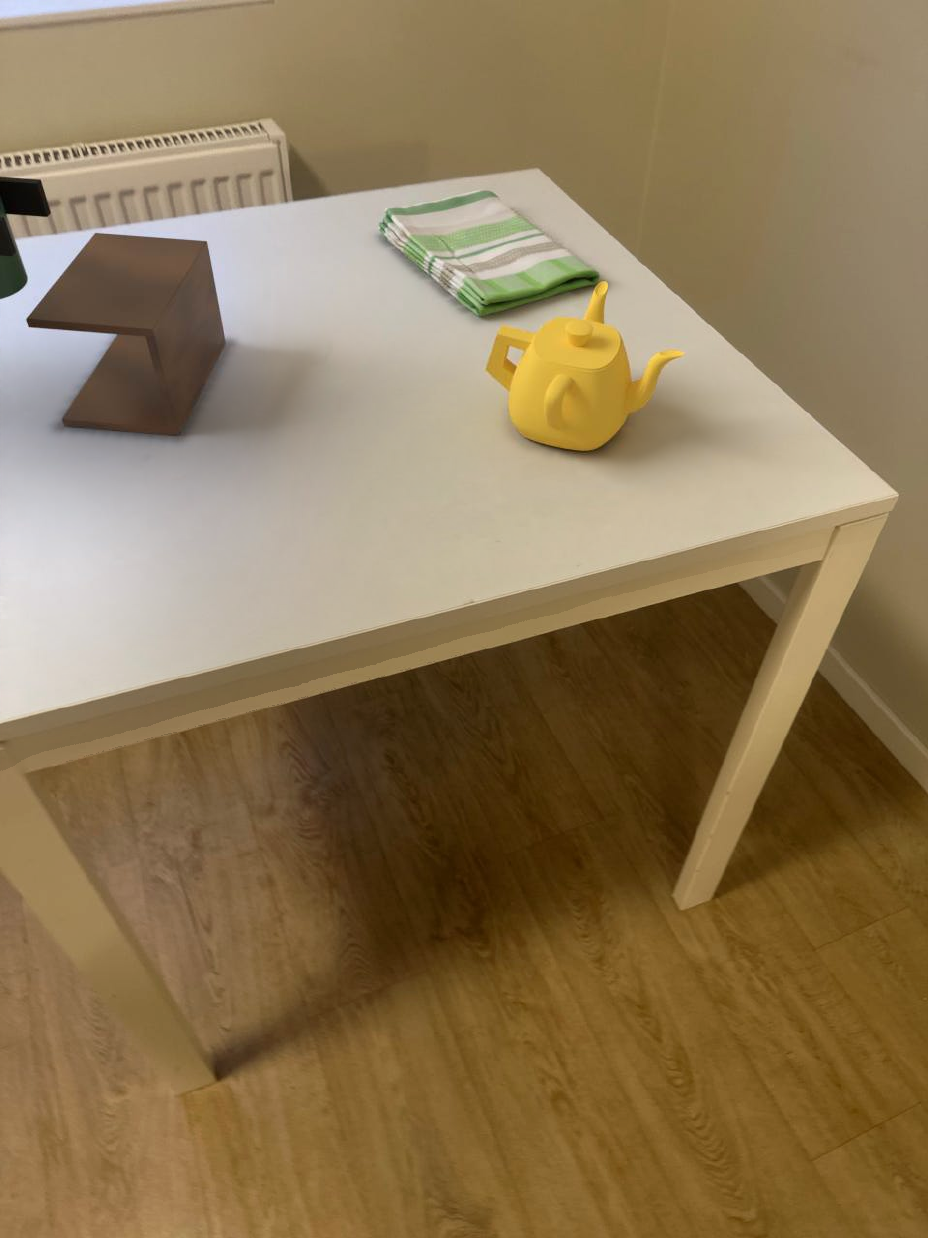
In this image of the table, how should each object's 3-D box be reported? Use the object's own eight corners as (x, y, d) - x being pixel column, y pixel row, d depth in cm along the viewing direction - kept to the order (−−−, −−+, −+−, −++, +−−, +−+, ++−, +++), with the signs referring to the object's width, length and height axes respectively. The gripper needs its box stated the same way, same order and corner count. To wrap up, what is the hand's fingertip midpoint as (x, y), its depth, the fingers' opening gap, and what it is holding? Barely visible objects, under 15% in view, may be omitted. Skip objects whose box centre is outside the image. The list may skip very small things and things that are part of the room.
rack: (123, 334, 97) (94, 232, 89) (226, 343, 97) (207, 240, 89) (63, 426, 87) (25, 318, 79) (178, 436, 86) (152, 329, 78)
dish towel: (491, 205, 120) (492, 177, 117) (603, 283, 107) (607, 253, 105) (375, 237, 114) (373, 208, 111) (479, 323, 101) (480, 293, 98)
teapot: (665, 441, 88) (687, 348, 80) (540, 477, 84) (551, 382, 76) (592, 365, 96) (605, 275, 88) (474, 395, 92) (478, 302, 84)
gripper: (-167, 191, 83) (85, 210, 82) (-306, 300, 71) (-11, 324, 69) (-210, 100, 78) (60, 119, 76) (-369, 200, 65) (-49, 225, 64)
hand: (26, 216), depth 73 cm, fingers closed on tin, 6 cm apart
